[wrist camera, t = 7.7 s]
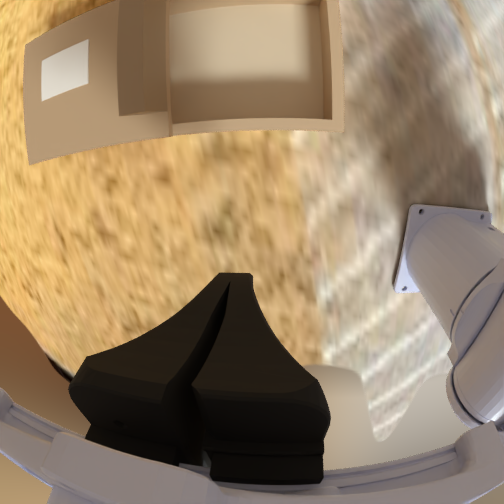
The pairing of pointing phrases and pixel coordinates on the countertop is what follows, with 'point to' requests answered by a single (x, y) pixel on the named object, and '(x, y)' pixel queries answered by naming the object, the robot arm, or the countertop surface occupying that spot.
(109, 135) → the lid
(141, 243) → the countertop surface
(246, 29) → the mailer
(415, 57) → the countertop surface
